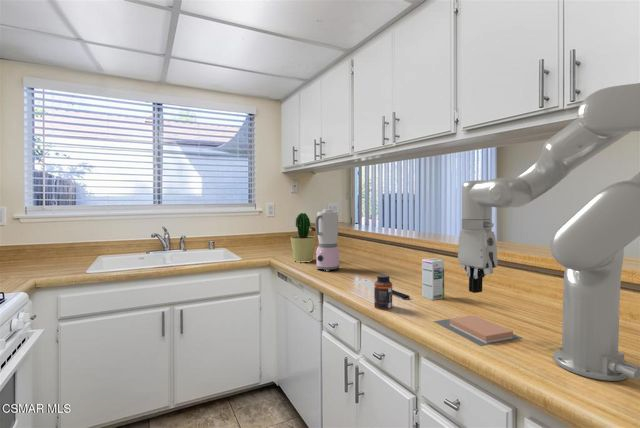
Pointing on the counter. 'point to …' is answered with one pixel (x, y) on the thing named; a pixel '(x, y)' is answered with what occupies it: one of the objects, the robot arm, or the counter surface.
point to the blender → (327, 240)
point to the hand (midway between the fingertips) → (475, 291)
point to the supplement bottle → (383, 293)
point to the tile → (481, 328)
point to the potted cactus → (303, 240)
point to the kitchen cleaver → (370, 285)
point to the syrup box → (433, 278)
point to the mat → (447, 325)
